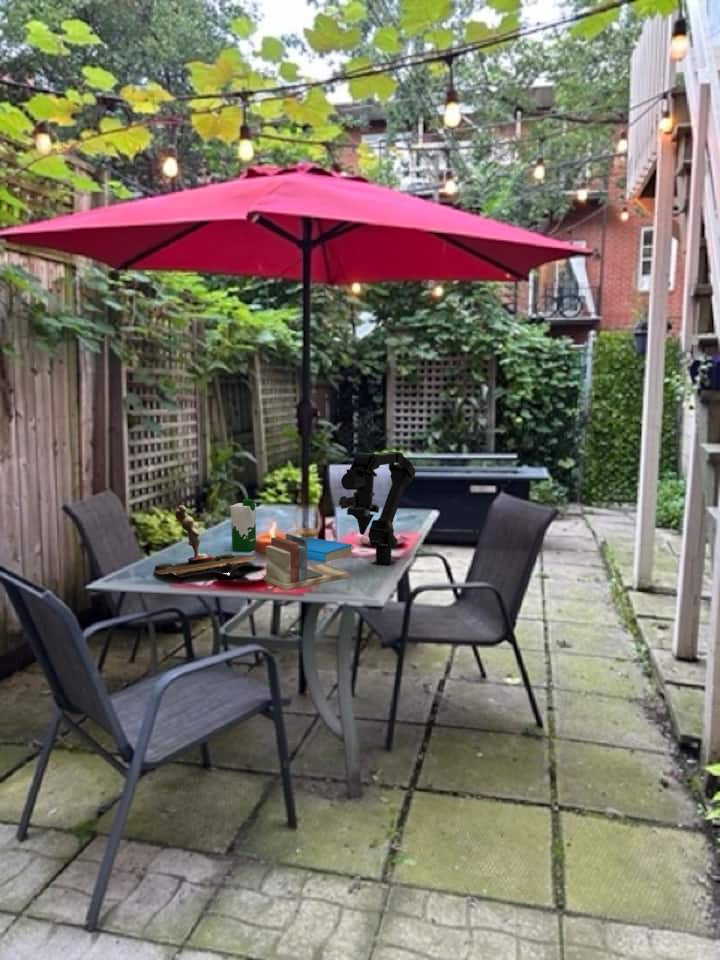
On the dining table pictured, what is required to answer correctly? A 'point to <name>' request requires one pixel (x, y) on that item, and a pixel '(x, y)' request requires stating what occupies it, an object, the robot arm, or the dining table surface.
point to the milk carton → (243, 526)
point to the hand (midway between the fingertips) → (362, 534)
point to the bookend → (303, 543)
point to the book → (326, 549)
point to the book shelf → (318, 568)
